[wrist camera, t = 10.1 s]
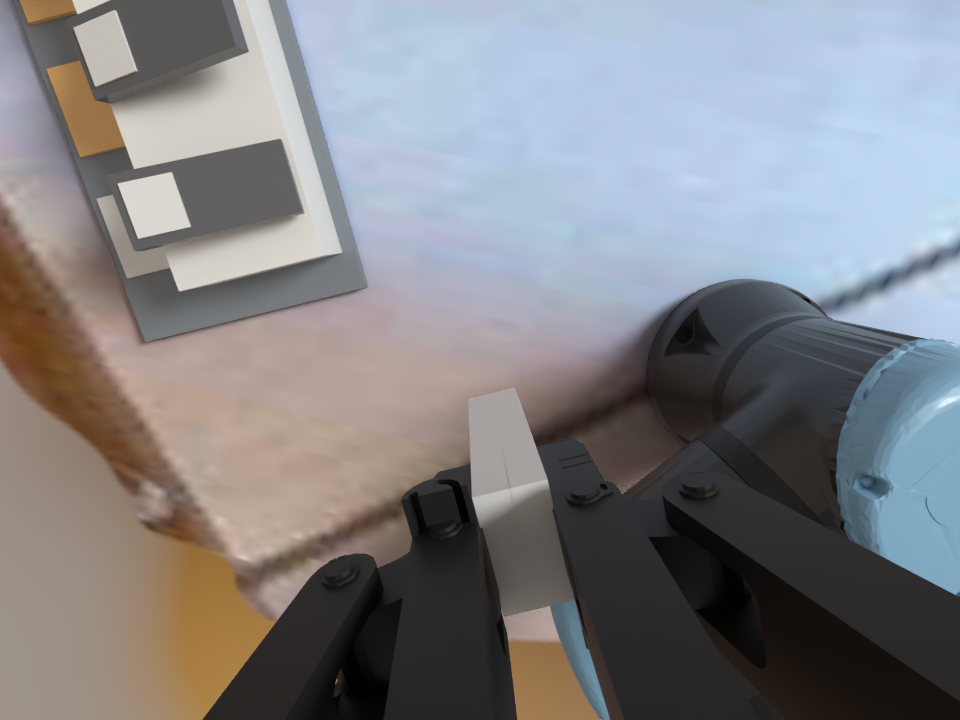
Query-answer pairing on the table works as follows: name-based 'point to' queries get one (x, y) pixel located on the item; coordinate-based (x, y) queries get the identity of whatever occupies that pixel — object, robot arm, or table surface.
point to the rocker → (205, 194)
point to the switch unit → (197, 131)
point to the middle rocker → (152, 42)
